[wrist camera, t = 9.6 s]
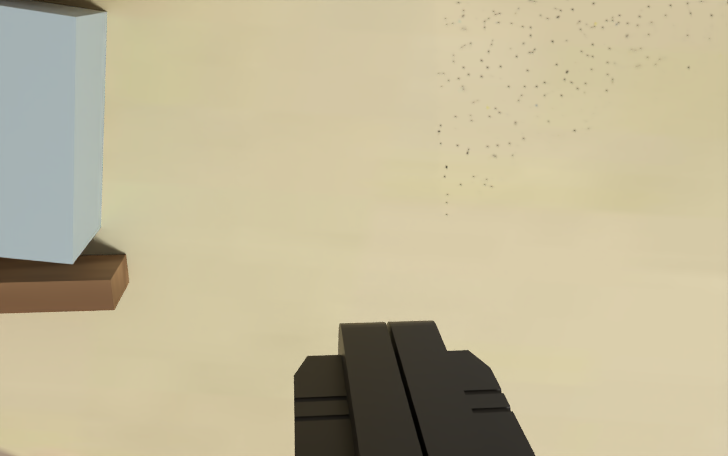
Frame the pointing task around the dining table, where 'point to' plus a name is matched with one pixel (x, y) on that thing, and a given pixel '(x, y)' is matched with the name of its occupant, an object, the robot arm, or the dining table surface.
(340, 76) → the dining table surface
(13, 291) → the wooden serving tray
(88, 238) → the block
